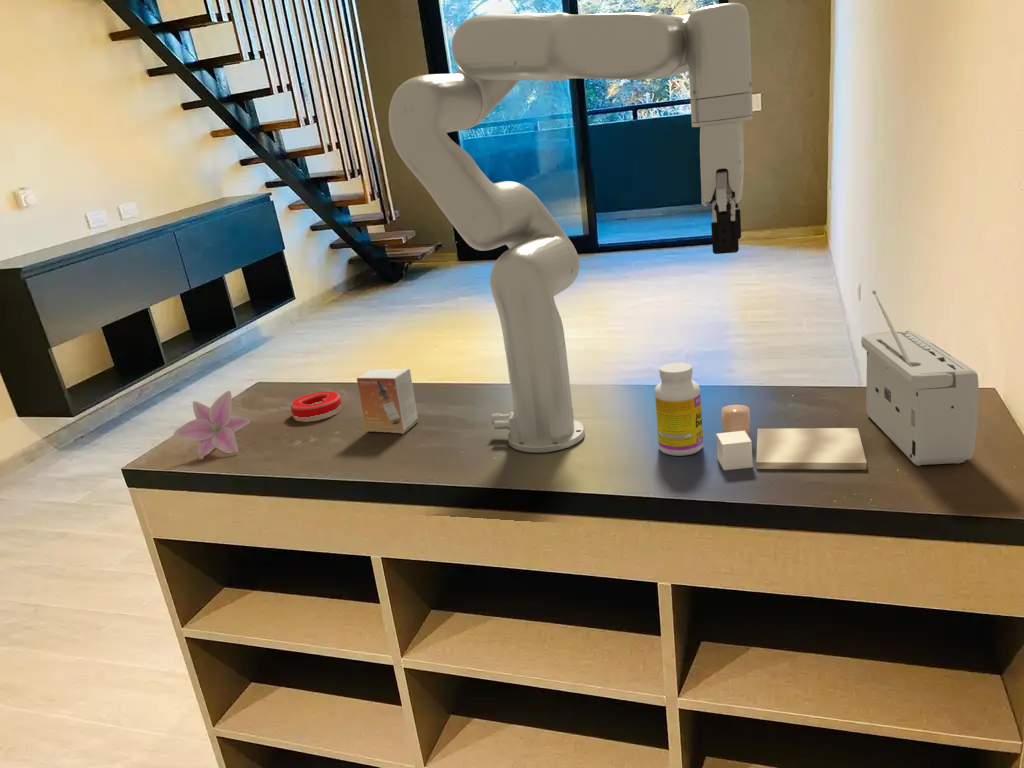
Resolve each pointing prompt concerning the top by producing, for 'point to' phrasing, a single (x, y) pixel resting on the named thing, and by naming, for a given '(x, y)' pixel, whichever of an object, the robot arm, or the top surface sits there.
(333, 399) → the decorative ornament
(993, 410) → the top surface
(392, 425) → the small box
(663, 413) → the supplement bottle
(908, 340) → the stereo radio cassette player
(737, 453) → the off-white block
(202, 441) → the lily
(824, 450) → the ash board
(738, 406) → the peach rounded capsule
